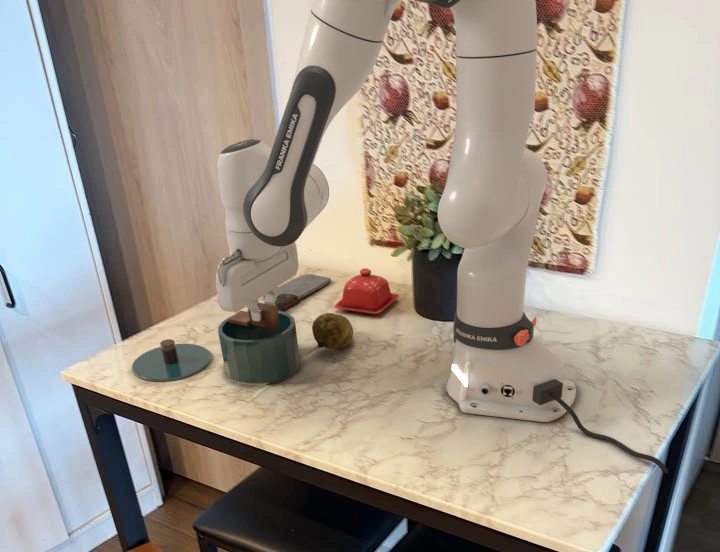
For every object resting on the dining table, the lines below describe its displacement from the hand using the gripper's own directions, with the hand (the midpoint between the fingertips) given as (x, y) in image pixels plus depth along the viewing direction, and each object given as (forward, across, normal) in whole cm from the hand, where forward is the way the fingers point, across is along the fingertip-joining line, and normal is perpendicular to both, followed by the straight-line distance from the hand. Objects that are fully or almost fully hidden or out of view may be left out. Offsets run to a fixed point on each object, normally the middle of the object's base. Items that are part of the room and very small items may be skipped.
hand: (264, 315), depth 139 cm
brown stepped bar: (+2, 0, +2) cm, 3 cm away
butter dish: (+11, +34, -2) cm, 36 cm away
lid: (+11, -6, +20) cm, 23 cm away
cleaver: (+11, +30, +18) cm, 36 cm away
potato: (+11, +14, -6) cm, 19 cm away
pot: (+11, 0, +2) cm, 11 cm away
